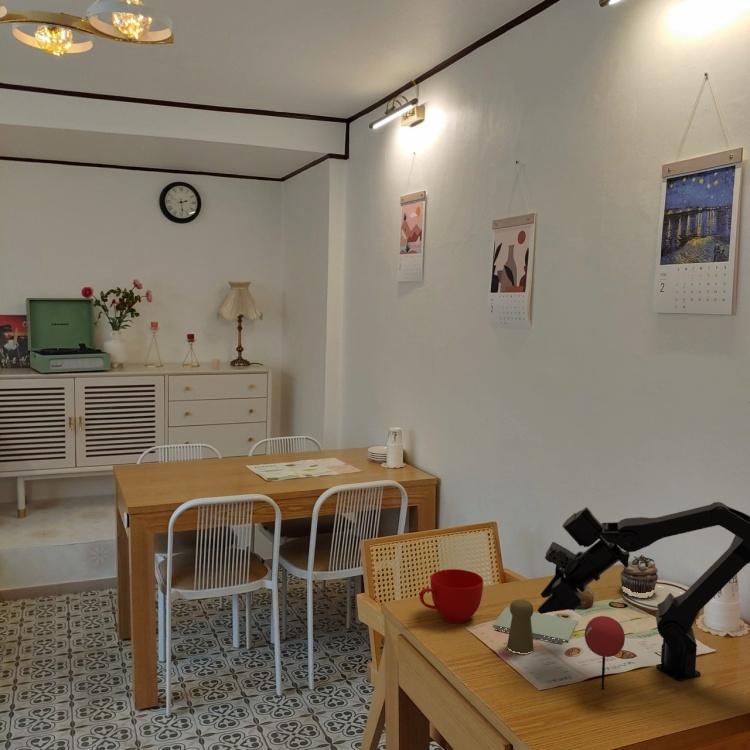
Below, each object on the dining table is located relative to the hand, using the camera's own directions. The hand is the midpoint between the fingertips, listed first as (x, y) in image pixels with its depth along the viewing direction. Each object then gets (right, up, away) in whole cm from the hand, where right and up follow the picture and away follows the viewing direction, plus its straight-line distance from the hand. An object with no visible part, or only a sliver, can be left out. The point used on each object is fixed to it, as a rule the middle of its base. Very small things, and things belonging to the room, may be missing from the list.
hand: (540, 603), depth 167 cm
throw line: (-1, -10, +9) cm, 13 cm away
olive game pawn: (-4, -11, +2) cm, 12 cm away
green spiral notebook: (+2, -10, +15) cm, 18 cm away
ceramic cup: (-19, -9, +18) cm, 27 cm away
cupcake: (+34, -8, +36) cm, 50 cm away
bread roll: (+15, -9, +30) cm, 35 cm away
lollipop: (+9, -13, -15) cm, 22 cm away
